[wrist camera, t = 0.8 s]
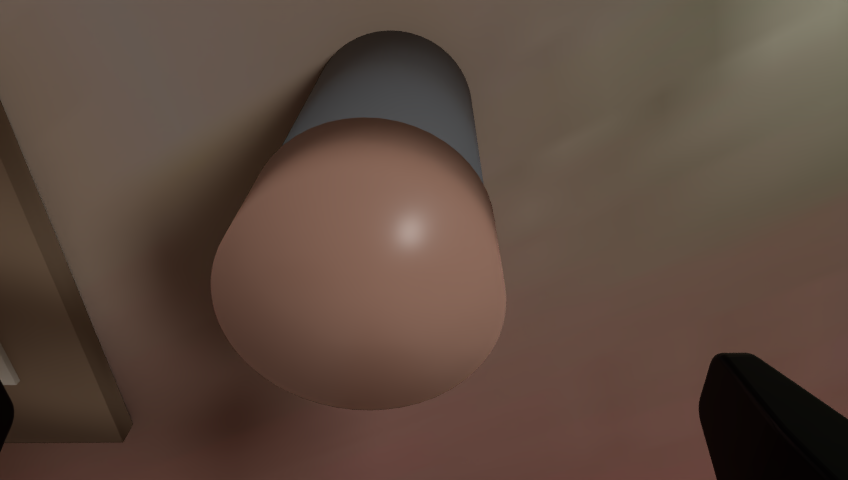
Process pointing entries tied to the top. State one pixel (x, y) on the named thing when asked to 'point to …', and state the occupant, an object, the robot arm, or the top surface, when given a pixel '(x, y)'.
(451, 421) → the top surface
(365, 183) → the pink and grey capsule
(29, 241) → the drawing board
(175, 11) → the top surface
